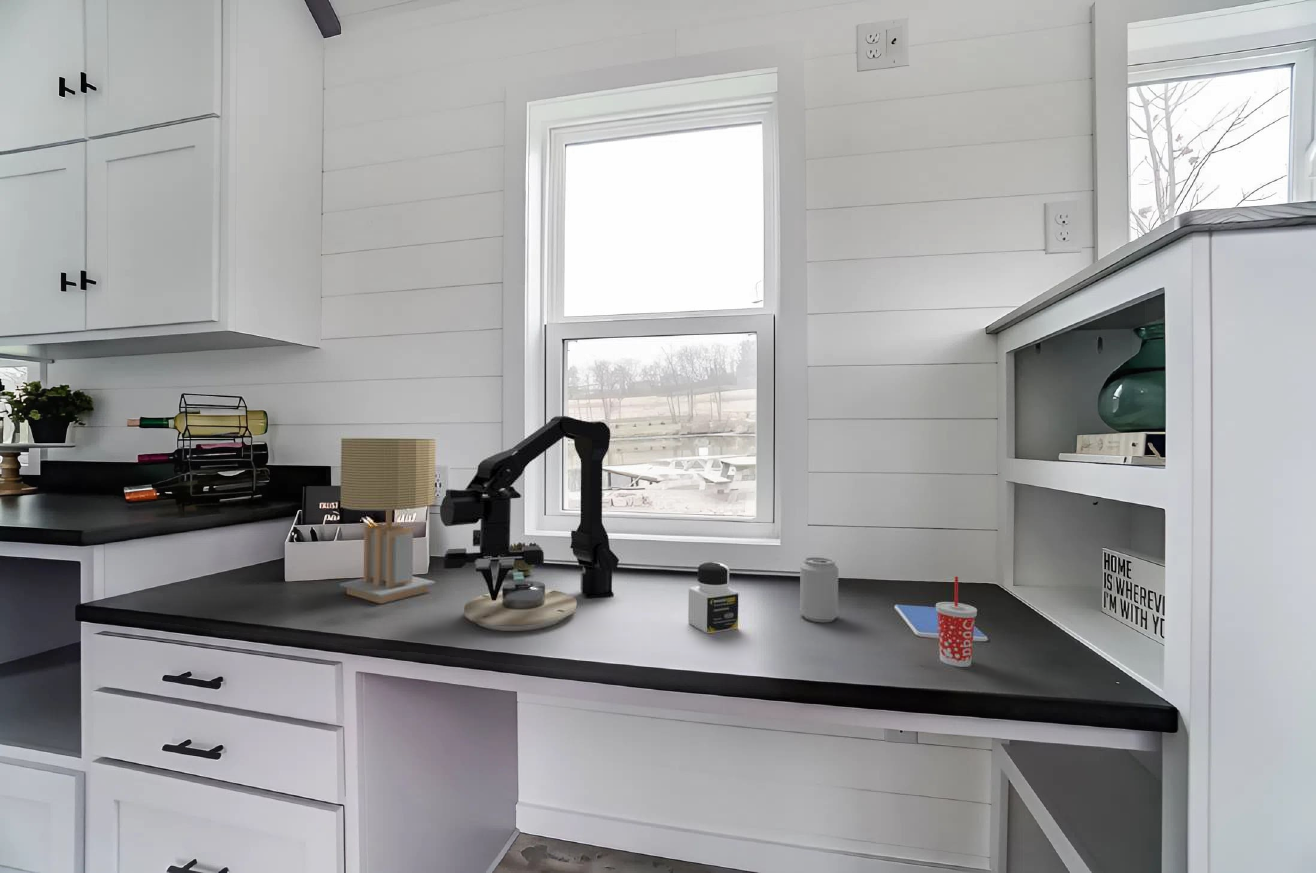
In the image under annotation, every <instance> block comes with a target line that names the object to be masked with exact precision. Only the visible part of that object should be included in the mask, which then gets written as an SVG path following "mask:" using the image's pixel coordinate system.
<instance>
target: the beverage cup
mask: <svg viewBox="0 0 1316 873" xmlns="http://www.w3.org/2000/svg"><path fill="white" fill-rule="evenodd" d="M935 607H936V610H937V611H938V630H939V638H938V642H939V643H938V645H939V659H940V661H941V662H942V663H944V664H946V665H949V666H952V667H960V668H964V667H967V668H968V667H970V666H972V657H973V656H972V655H973V642H974V641H973V633H974V626H975V620H976V617H977V615H978V614H977V613H978V609H977V608H976V607H975V606H972V605H970V604H965V603H962V602H961V603H960V602H959V576H954V601H939V602H936V604H935Z"/></svg>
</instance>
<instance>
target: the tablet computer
mask: <svg viewBox="0 0 1316 873" xmlns="http://www.w3.org/2000/svg"><path fill="white" fill-rule="evenodd" d="M894 609H895V611H896V612H897V613H898V614H899V615H900V616H901V618H902V619H903V621H905V623H906V624H907V625H908V626H909V628H910V629H911V631H913V633H914V635H916V636H918V637H920V638H930V639H939V630H938V611H937V610H936V606H934V607H933V606H924V605H923V606H921V605H909V604H907V605H905V604H895V605H894ZM988 640H989V639H988V637H987V635H985V634H984V633H983V632H982V631H980V630H979V628H977V627H976V626H975V625H974V633H973V642H987V641H988Z"/></svg>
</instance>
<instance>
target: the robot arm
mask: <svg viewBox="0 0 1316 873" xmlns="http://www.w3.org/2000/svg"><path fill="white" fill-rule="evenodd" d="M611 435H612V434H611V429H610V427H609V426H608V425H607V423H606V422H603V421H585V420H581V419H578V418H574V417H571V416H569V415H562V416H561V415H556V416H553V417H552V418H551V419H550V421H548V422H546V424H544V425H543V426H541V427H540V428H539V429H537V430H536V431H534V432H533V433H532V434H530V435H529V436H527V437H526V438H525V439H523V440H522V441H520V442H519V443H518V444H516V445H515V446H514V447H511V448H509V449H507V450H504V451H501V452H498V453H495V454H493V455H492V456H490V457H487V458H486V459H483V460H482V461H481V462H480V463H479V464H478V466H477V471H476V473H475V475H474V476H473V478H472V479H471V481H470V482H469V483H468V485H467V486H466V488H465V489H453V488H450V489H446V490H445V496H444V497H443V499H442V501H441V504H440V506H439V515H440V516H439V517H440V520H441V522H442V524H443V525H444V526H445V527H452V526H454V527H455V526H464V525H474V524H475V525H476V524H477V523H478V522H479V520H480V529H473V531H472V547H479V552H478V551H477V552H467V548H465V547H464V548H448V549H447V550H446V551H445V553H444V556H443V557H444V560H443V564H444V565H443V569H446V570H447V569H448V570H451V569H462V568H463V567H464V566H465V565H466V564H467V563H474V564H475V572H480V573H481V575H482V577H483V579H484V580H485V583H486V585H487V586H486V587H487V589H488V592H489V593H490V596H491V599H492V601H495V600H496V599H497V596H498V594H499V591H501V588H502V586H503V583H504V580H505V579H506V577H507V575H508V573H509V571H514V570H515V568H514V565H513V562H514V560H524V562H525V563H526V564H528V565H535V566H536V565H543V564H545V563H544V561H545V556H544V554H545V553H544V550H543V549H542V547H541V546H540V545H538V546H529V545H528V546H527V545H525V546H522V551H510V546H511V513H512V511H511V508H512V506H511V504H512V501H511V500H512V499H520V498H521V497H522V495H521V494H520V493H519V492H518V491H517V490H516V488H515V487H514V486H512V485H514V484H515V483H516V481H517V480H518V479H519V478H520V477H521V476H522V475H523V473H524V471H525V469H526V467H527V466H528V465H529V464H530V463H531V462H532V461H533V460H535V459H536V458H538V457H539V456H540V455H542V454H544V452H546V451H548V449H550V448H551V447H552V446H554V445H555V444H557V443H558V442H559V441H560V440H562V439H563V438H567V439H570V440H573V443H574V450H575V451H576V453H577V455H578V457H579V459H580V523H579V525H578V526H577V529H576V530H571V532H570V536H571V544H570V549H572V554H573V556H574V557H575V558H576V561H577V564H578V566H580V567H581V566H582V572H581V573H580V588H579V589H580V592H581V593H582V594H583V595H584V596H583V597H584V598H587V599H588V598H599V597H600V598H602V597H612V596H614V595H615V594H614V592H613V570H615V569H617V568H618V565H619V563H620V562H619V561H620V559H619V558H618V556H616V555H615V553H614V552H613V551H612V550H611V549H610V541H609V534H608V533H607V530H606V529H605V527H604V524H603V463H604V462H603V461H604V459H605V457H606V454H607V453H608V452H609V448H610V443H611V442H610V441H611ZM491 562H497V569H496V574H495V575H496V576H495V583H494V581H493V572H492V564H491ZM489 593H488V594H489Z"/></svg>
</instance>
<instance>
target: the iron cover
mask: <svg viewBox="0 0 1316 873" xmlns="http://www.w3.org/2000/svg"><path fill="white" fill-rule="evenodd" d="M501 588H502V589H501V591H502V606H503V607H505V608H508V609H515V610H525V609H533V608H537V607H540V606H542V605H544V604H545V590H546V585H545V583H544V582H541V581H537V580H534V581H533V580H524V581H517V582H513V581H511V582H508V583H506V584H504V585H502V586H501Z"/></svg>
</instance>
